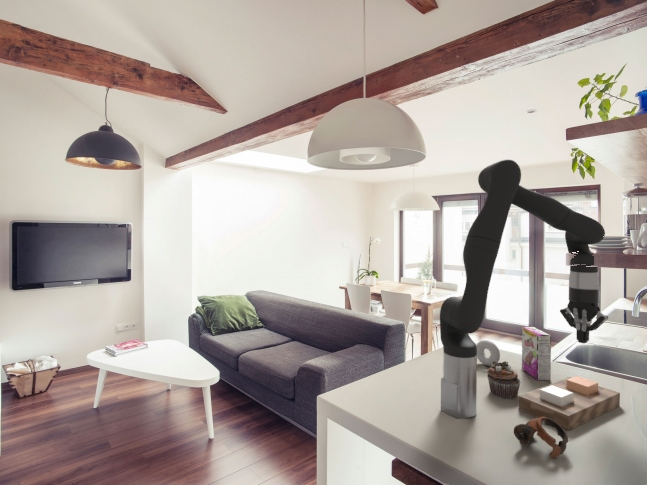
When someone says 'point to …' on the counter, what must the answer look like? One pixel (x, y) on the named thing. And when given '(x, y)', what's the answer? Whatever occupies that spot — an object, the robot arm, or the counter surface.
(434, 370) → the counter surface
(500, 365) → the cupcake
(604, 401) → the key panel
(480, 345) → the donut
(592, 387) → the terracotta key
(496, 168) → the robot arm
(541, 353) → the candy bar box
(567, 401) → the white rectangular block
